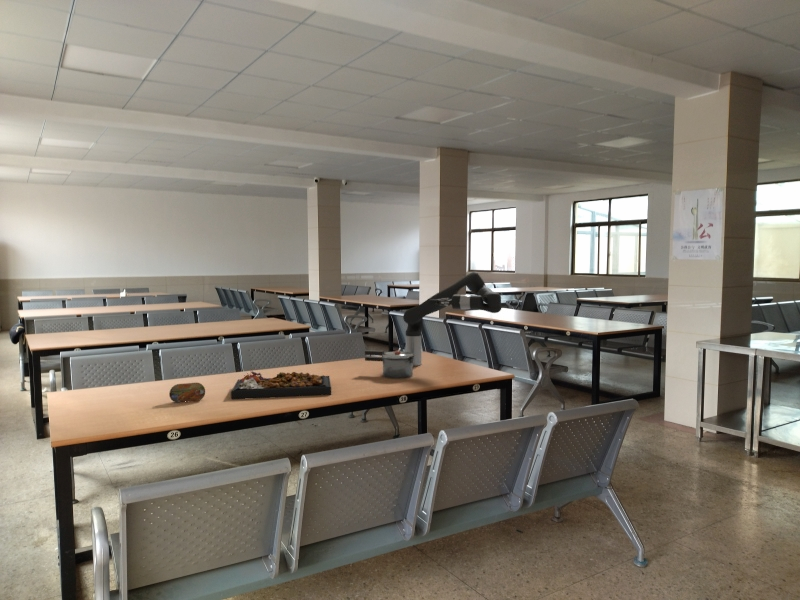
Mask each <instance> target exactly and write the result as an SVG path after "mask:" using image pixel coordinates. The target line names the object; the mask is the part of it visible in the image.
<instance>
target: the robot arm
mask: <svg viewBox="0 0 800 600" xmlns="http://www.w3.org/2000/svg"><path fill="white" fill-rule="evenodd" d="M464 287H467V288H468V290H469V291H470V292H471V293H472V294H474V295H472V294H471V295H469V294H458V293H459V291H461V289H462V288H464ZM449 306H451V308H452V309H453V310H480V311H485V312H488V313H491V314H498V313H499V312H501V311H502V296H501V294H500V292H496V291H493V290H492V289H491V288H489V287H488V286H487V285H486V283H485V281H484V280H483V278H482V277H481V276H480V274H479V273H478V272H477V271H472V272H470V273H468V274H467V275H465V276H464V277H462V278H461V279H459V280H458V281H456V282H454V283H453V284H451V285H450V286H448V287H446V288H444V289H443V290H440V291H438V292H437V293H435V294H434V295H432V296H430V297H429V298H427V299H426V300H424V301H423V302H422V303H420V304H418V305H416V306H413V307H412V308H409V309H406V311H405V312H404V313H403V317H402V318H403V321H404V323H406V324H407V327H406V329H405V347H404V352H411V353H413V356H414V355H415V357H414V358H415V362H414V363H413V367H414V366H415V367H416V366H422V331H423V326H424V325H423V322H424V321H423V320H424V319H423V318H424V317H426V316H428V315H430V314H433V313H436V312H438V311H440V310H443V309H444V308H446V307H449Z"/></svg>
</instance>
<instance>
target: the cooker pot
mask: <svg viewBox="0 0 800 600" xmlns="http://www.w3.org/2000/svg"><path fill="white" fill-rule="evenodd" d="M364 361H366V362H382V376H383V377H384V378H387V379H396V380H398V379H407V378H410V377H411V378H412V377H413V376H414V373H413V371H414V369H413V367H414V366H413V363H414V362H415V358H412V359H411V358H406V359H387V358H383V357H382V356H372V355H366V356H365V357H364Z"/></svg>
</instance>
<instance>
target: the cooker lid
mask: <svg viewBox="0 0 800 600" xmlns="http://www.w3.org/2000/svg"><path fill="white" fill-rule="evenodd" d="M364 355H365V356H381V357H383V358H387V359H406V358H411V359H412V358H414V357H415V355H414V356H413V353H411V352H405V351H403V350H402V351H401V350H394V351H387V352H385V350H374V349H373V350H372V349H366V350H365V351H364Z"/></svg>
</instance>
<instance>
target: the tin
mask: <svg viewBox="0 0 800 600" xmlns="http://www.w3.org/2000/svg"><path fill="white" fill-rule="evenodd" d="M205 395H206V389H205V386H204V385H203V384H202V383H200V382H187V383H177V384H175V385H173V386H172V387H171V388H170V390H169V398H170V400H171V401H172V402H173V403H176V402H185V401H186V402H185V403H189V402H188V401H196V402H200V401H201V400H203V398H204V397H205Z"/></svg>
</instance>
